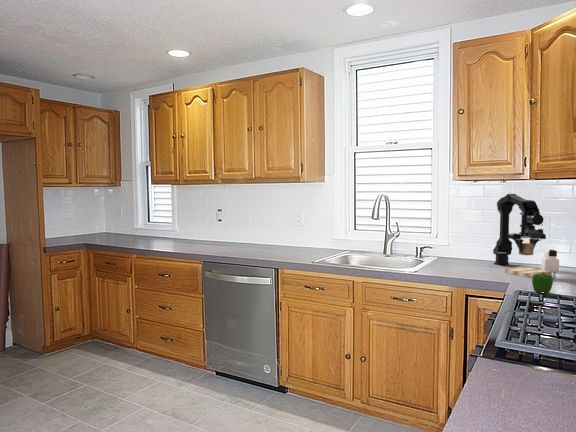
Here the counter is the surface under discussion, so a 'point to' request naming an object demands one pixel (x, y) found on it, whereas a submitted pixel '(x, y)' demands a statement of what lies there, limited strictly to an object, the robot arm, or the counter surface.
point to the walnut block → (527, 249)
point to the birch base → (526, 271)
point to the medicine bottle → (550, 261)
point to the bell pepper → (542, 282)
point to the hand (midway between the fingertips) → (526, 251)
